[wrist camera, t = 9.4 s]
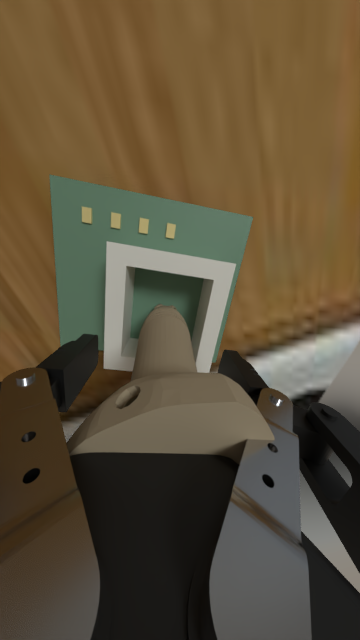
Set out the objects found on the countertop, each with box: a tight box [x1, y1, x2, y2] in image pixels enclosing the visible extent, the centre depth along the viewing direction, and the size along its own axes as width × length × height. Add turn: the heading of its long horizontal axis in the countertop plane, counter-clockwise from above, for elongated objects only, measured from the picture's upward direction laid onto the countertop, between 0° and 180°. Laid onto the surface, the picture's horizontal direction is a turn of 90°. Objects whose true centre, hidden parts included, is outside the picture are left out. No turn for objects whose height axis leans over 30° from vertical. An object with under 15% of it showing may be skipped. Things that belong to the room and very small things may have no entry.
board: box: [50, 175, 253, 362], centre depth 18 cm, size 16×18×1 cm
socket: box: [104, 241, 236, 373], centre depth 17 cm, size 12×10×4 cm
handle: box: [66, 304, 275, 464], centre depth 12 cm, size 5×6×15 cm
